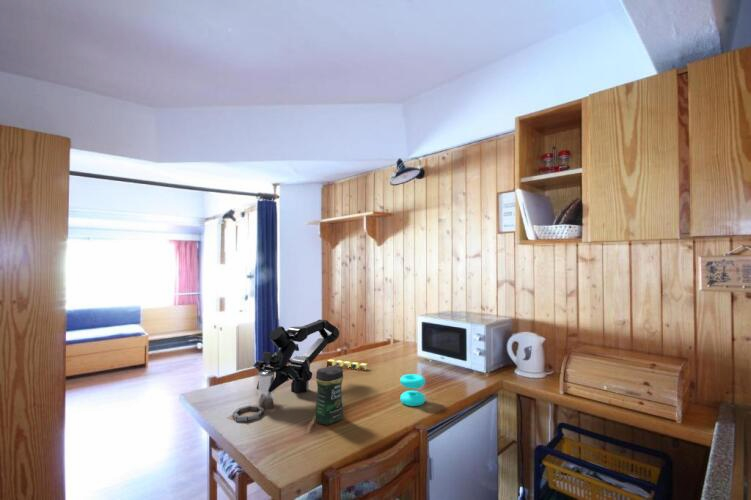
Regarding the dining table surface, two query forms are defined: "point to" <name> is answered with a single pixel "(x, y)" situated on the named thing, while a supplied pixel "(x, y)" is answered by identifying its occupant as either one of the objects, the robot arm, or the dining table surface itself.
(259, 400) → the cylinder
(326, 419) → the coffee jar
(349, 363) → the yellow segmented block row
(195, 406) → the dining table surface
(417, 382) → the donuts
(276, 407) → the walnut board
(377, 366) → the dining table surface
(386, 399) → the dining table surface
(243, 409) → the ring collar
